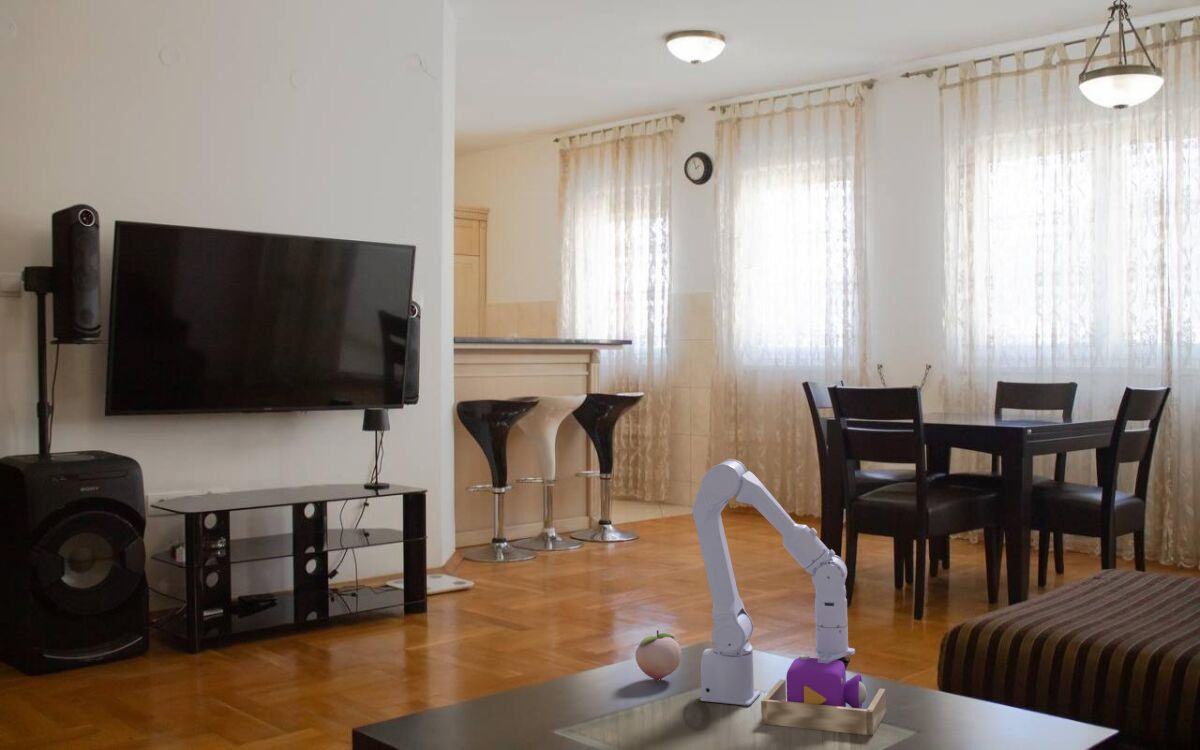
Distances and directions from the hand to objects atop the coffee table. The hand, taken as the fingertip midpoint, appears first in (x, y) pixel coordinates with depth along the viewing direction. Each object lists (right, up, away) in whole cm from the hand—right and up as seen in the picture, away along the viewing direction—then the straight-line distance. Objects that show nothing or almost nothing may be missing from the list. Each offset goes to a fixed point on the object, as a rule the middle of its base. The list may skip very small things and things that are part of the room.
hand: (833, 698), depth 202 cm
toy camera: (-3, -2, -7) cm, 8 cm away
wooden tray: (-3, -1, -7) cm, 8 cm away
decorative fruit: (-30, -2, +18) cm, 35 cm away
